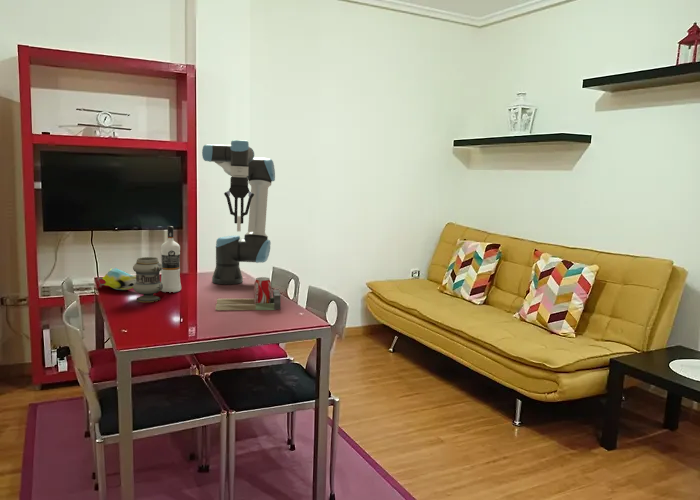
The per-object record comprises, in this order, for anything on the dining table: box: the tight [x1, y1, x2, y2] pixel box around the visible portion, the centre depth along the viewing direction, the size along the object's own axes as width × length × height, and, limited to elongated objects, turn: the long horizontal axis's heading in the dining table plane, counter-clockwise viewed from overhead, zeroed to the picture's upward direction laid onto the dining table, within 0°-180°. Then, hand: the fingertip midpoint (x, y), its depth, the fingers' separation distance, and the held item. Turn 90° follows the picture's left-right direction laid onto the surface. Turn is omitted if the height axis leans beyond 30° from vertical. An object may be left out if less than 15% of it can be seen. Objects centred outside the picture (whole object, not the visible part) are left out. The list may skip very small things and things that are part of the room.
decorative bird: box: [96, 267, 136, 291], centre depth 261 cm, size 14×30×9 cm, turn 55°
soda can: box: [253, 276, 272, 304], centre depth 237 cm, size 7×7×12 cm
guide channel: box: [215, 289, 282, 311], centre depth 237 cm, size 12×26×6 cm, turn 101°
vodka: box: [160, 225, 182, 294], centre depth 259 cm, size 9×9×30 cm
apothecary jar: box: [132, 256, 163, 303], centre depth 241 cm, size 12×12×18 cm
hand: (238, 231), depth 247 cm, fingers closed
